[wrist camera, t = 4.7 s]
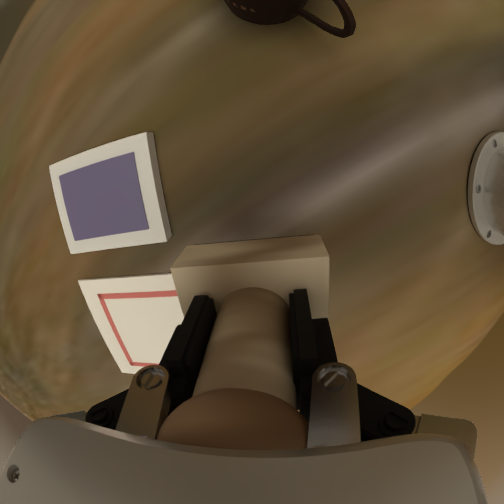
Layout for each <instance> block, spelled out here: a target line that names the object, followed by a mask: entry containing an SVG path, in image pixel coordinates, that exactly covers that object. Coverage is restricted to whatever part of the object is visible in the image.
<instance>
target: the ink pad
mask: <svg viewBox="0 0 504 504" xmlns="http://www.w3.org/2000/svg"><path fill="white" fill-rule="evenodd" d="M49 168H50V174H51V179H52V185H53V189H54V194H55V199H56V203H57V207H58V211H59V215H60V219H61V223H62V226H63V230H64V233H65V237H66V240H67V243H68V246H69V249H70V253H71V254H75V253H83V252H90V251H97V250H105V249H112V248H120V247H128V246H136V245H144V244H152V243H160V242H167V241H168V240H169V239H170V238H171V236H172V233H171V229H170V224H169V219H168V215H167V210H166V205H165V200H164V195H163V189H162V184H161V179H160V173H159V167H158V161H157V155H156V149H155V142H154V135H153V132H145V133H141V134H137V135H134V136H130V137H127V138H124V139H120V140H117V141H114V142H111V143H108V144H105V145H102V146H99V147H96V148H93V149H90V150H88V151H85V152H82V153H80V154H77V155H74V156H72V157H69V158H67V159H64V160H62V161H60V162H57V163H55V164H52V165H50V166H49Z"/></svg>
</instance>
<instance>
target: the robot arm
mask: <svg viewBox="0 0 504 504" xmlns="http://www.w3.org/2000/svg"><path fill="white" fill-rule="evenodd" d="M468 205H469V213H470V216H471V220H472V223H473V226H474V228H475V230H476V232H477V233H478V234H479V236H480V237H481V238H483V239H484V240H485V241H487V242H489V243H490V244H493V245H502V244H504V132H501V131H497V132H492V133H490V134H488V135H487V136H486V137H485V138H484V139H483V140H482V141H481V143H480V144H479V146H478V148H477V150H476V152H475V154H474V157H473V160H472V164H471V167H470V173H469V180H468ZM289 306H290V323H291V340H292V360H293V382H294V384H295V388H296V410H300V413H301V414H302V415H303V416H304V418H305V419H306V420H307V422H308V423H309V431H308V442H307V448H306V449H290V450H237V449H221V448H209V447H200V446H191V445H184V444H177V443H171V442H165V441H160V440H157V436H158V433H159V430H160V428H161V426H162V425H163V423H164V422H165V420H166V418H167V417H168V416H169V415H170V414H171V413H172V412H173V411H174V410H175V409H176V408H177V407H178V406H180V405H181V404H182V403H183V402H185V401H187V400H188V399H190V398H192V396H193V392H194V389H195V385H196V382H197V379H198V375H199V372H200V369H201V365H202V362H203V359H204V355H205V352H206V349H207V345H208V342H209V339H210V335H211V332H212V329H213V326H214V322H215V319H216V316H217V313H216V309H215V305H214V301H213V298H209V296H208V295H195V296H194V298H193V300H192V302H191V304H190V306H189V308H188V310H187V313H186V315H185V317H184V319H183V321H182V323H181V325H177V327H176V328H175V330H174V333H173V335H172V337H171V339H170V341H169V343H168V345H167V348H166V350H165V352H164V354H163V356H162V359H161V361H160V363H159V365H148V366H145V367H143V368H141V369H140V370H138V371H137V372H136V373H135V375H134V377H133V379H132V382H131V385H130V388H129V389H127V390H125V391H123V392H121V393H119V394H117V395H115V396H113V397H111V398H109V399H107V400H104V401H102V402H100V403H98V404H96V405H94V406H93V407H92V408H91V409H90V410H89V411H88V413H87V412H86V411H85V410H84V411H79V412H73V413H67V414H60V415H53V416H50V417H43V418H39V419H36V420H34V421H33V422H31V423H30V424H29V425H28V426H27V428H26V429H25V430H24V432H23V433H22V434H21V436H20V437H19V439H18V441H17V442H16V444H15V446H14V448H13V449H12V452H11V453H10V455H9V457H8V459H7V461H6V463H5V465H4V467H3V469H2V472H1V474H0V504H487V498H486V494H485V490H484V487H483V483H482V480H481V476H480V473H479V471H478V468H477V465H476V463H475V461H474V454H475V447H476V439H477V429H476V427H475V425H474V424H473V423H472V422H471V421H469V420H465V419H458V418H448V417H441V416H434V415H427V414H421V416H415V415H414V414H413V413H412V412H411V410H409V409H408V408H406V407H404V406H402V405H400V404H398V403H396V402H394V401H392V400H390V399H387V398H385V397H383V396H381V395H379V394H377V393H375V392H373V391H371V390H369V389H367V388H365V387H363V386H361V385H359V384H358V383H357V380H356V375H355V372H354V371H353V369H352V368H351V367H349V366H348V365H346V364H343V363H339V362H338V361H337V356H336V352H335V347H334V343H333V339H332V334H331V330H330V326H329V322H328V318H317V319H312V317H311V311H310V305H309V299H308V294H307V289H295V290H294V293H289Z"/></svg>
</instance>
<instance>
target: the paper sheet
mask: <svg viewBox="0 0 504 504" xmlns="http://www.w3.org/2000/svg"><path fill="white" fill-rule="evenodd" d="M78 282H79V285H80V287H81V290H82V292H83V295H84V297H85V300H86V302H87V304H88V307H89V309H90V311H91V313H92V315H93V318H94V320H95V322H96V324H97V326H98V328H99V330H100V332H101V334H102V336H103V338H104V340H105V342H106V344H107V346H108V348H109V350H110V352H111V354H112V355H113V357H114V359H115V361H116V363H117V364H118V366H119V368H120V370H121V371H122V372H123V373H132V374H135V373H136V372H137V371H138V370H140V369H141V368H143V367H145V366H148V365H159V363H160V361H161V359H162V356H163V354H164V352H165V350H166V348H167V345H168V343H169V341H170V339H171V337H172V335H173V333H174V330H175V328H176V327H177V325H181V323H182V321H183V319H184V315H183V312H182V309H181V305H180V302H179V299H178V295H177V292H176V288H175V285H174V281H173V278H172V274H171V273H162V274H149V275H136V276H122V277H108V278H94V279H79V280H78Z"/></svg>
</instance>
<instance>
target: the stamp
mask: <svg viewBox="0 0 504 504" xmlns="http://www.w3.org/2000/svg"><path fill="white" fill-rule="evenodd" d="M170 270H171V274H172V278H173V281H174V285H175V288H176V292H177V295H178V299H179V302H180V305H181V309H182V312H183V315H184V317H185V315H186V313H187V310H188V308H189V306H190V304H191V302H192V300H193V298H194V296H195V295H208V296H209V298H213V301H214V305H215V309H216V313H217V316H216V319H215V322H214V326H213V329H212V332H211V335H210V339H209V342H208V345H207V349H206V352H205V355H204V359H203V362H202V365H201V369H200V372H199V375H198V379H197V382H196V385H195V389H194V392H193V396H192V398H190V399H188V400H187V401H185V402H183V403H182V404H181V405H180V406H178V407H177V408H176V409H175V410H174V411H173V412H172V413H171V414H170V415H169V416H168V417H167V418H166V420H165V422H164V423H163V425H162V426H161V428H160V430H159V433H158V436H157V440H160V441H165V442H171V443H177V444H184V445H191V446H200V447H209V448H221V449H237V450H290V449H306V448H307V442H308V431H309V423H308V422H307V420H306V419H305V418H304V416H303V415H302V414H301V413H300V412H298V411H297V410H296V388H295V384H294V382H293V360H292V340H291V323H290V306H289V293H294V290H295V289H307V294H308V299H309V305H310V311H311V317H312V319H317V318H328V308H329V254H328V252H327V249H326V247H325V245H324V242H323V240H322V238H321V236H320V235H301V236H289V237H276V238H264V239H252V240H241V241H229V242H218V243H207V244H196V245H191V246H186V247H185V249H184V250H183V251H182V253H181V254H180V255H179V257H178V258H177V259H176V261H175V262H174V263H173V265H172V266H171V267H170Z"/></svg>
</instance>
